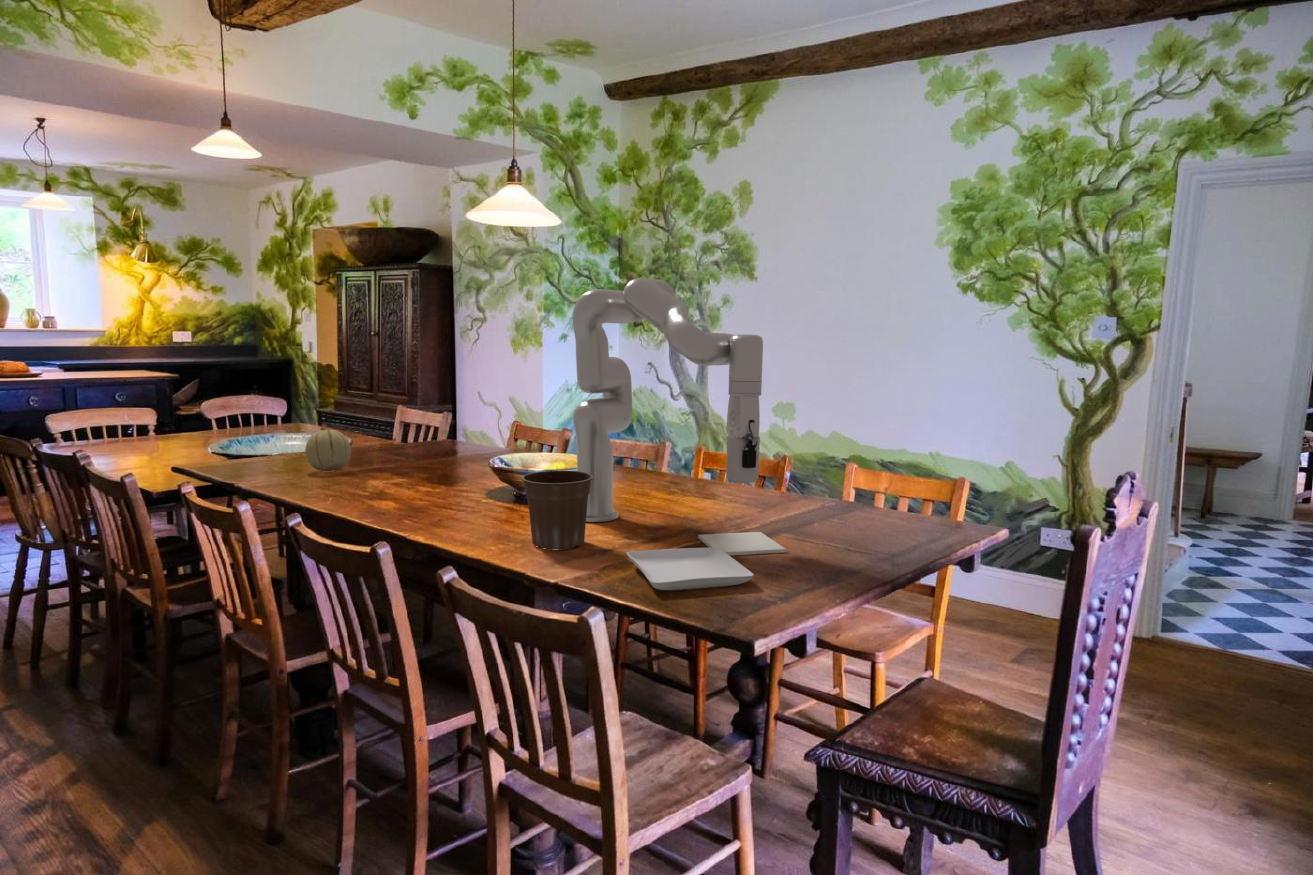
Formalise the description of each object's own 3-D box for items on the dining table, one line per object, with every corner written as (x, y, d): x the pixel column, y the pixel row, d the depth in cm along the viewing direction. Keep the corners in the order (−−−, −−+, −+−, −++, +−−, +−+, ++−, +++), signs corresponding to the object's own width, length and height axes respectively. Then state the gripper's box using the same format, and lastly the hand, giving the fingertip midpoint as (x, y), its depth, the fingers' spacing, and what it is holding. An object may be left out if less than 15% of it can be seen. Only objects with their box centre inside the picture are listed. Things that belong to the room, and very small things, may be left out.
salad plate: (756, 590, 159) (756, 573, 159) (652, 598, 153) (652, 581, 153) (717, 560, 179) (718, 545, 179) (624, 567, 173) (624, 551, 173)
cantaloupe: (330, 477, 268) (328, 432, 266) (296, 473, 273) (294, 429, 271) (361, 470, 282) (360, 427, 280) (328, 466, 287) (326, 424, 285)
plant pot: (526, 555, 179) (525, 483, 177) (518, 537, 195) (518, 471, 193) (598, 551, 184) (599, 481, 182) (585, 533, 199) (585, 469, 197)
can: (757, 478, 192) (759, 428, 190) (758, 484, 185) (760, 432, 183) (726, 477, 193) (727, 427, 191) (725, 483, 185) (727, 431, 184)
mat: (718, 556, 181) (719, 552, 181) (698, 538, 196) (698, 534, 196) (785, 552, 185) (785, 548, 185) (760, 534, 200) (760, 531, 200)
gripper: (717, 386, 193) (715, 459, 196) (742, 391, 177) (740, 471, 179) (747, 386, 195) (745, 458, 197) (774, 391, 178) (771, 470, 181)
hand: (742, 464), depth 188 cm, fingers closed on can, 7 cm apart
